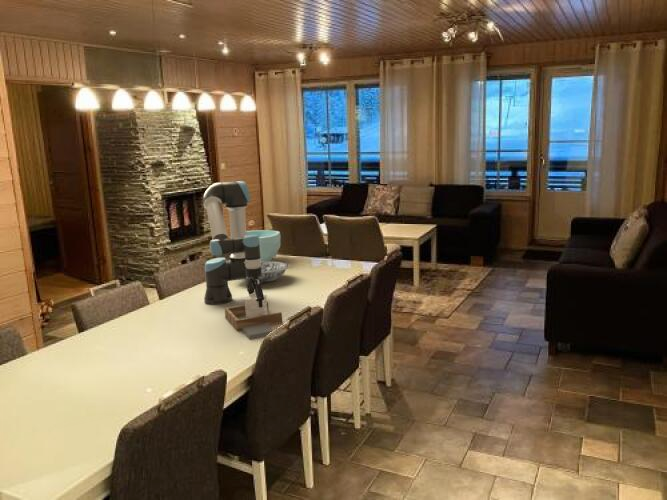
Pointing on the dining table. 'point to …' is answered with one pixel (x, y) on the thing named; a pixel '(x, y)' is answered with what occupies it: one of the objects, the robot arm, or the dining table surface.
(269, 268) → the ceramic bowl
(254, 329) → the plinth
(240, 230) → the robot arm
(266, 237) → the bowl
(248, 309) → the ink box
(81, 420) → the dining table surface
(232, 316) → the brown wooden shallow tray
